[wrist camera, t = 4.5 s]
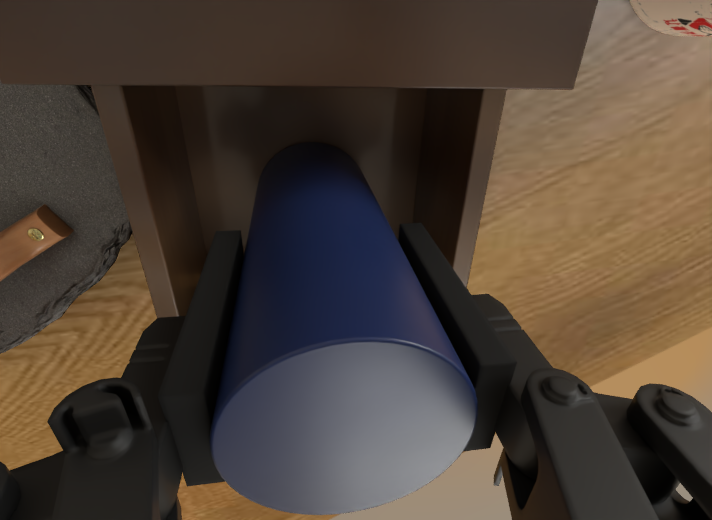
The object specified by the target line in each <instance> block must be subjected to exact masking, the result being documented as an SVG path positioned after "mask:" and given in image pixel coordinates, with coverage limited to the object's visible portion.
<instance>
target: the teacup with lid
mask: <svg viewBox="0 0 712 520" xmlns="http://www.w3.org/2000/svg"><path fill="white" fill-rule="evenodd" d="M629 1H630V3H631V5H632V7H633V9H634V11H635V12H636V14H637V15H638V17H639V18H640V19H641V20H642V21H643V22H644V23H645V24H646V25H648V26H649V27H650V28H652V29H654V30H656V31H658V32H660V33H663V34H668V35H673V36H710V37H712V0H629Z"/></svg>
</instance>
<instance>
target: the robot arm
mask: <svg viewBox="0 0 712 520" xmlns="http://www.w3.org/2000/svg"><path fill="white" fill-rule="evenodd" d="M398 242H399V244H400V246H401V248H402V250H403V252H404V254H405V255H406V257H407V259H408V261H409V263H410V265H411V267H412V269H413V271H414V273H415V275H416V277H417V279H418V280H419V282H420V284H421V286H422V288H423V290H424V292H425V294H426V296H427V298H428V300H429V302H430V304H431V305H432V307H433V309H434V311H435V313H436V315H437V317H438V319H439V321H440V323H441V325H442V327H443V329H444V330H445V332H446V334H447V336H448V338H449V340H450V342H451V344H452V346H453V348H454V350H455V352H456V353H457V355H458V357H459V359H460V361H461V363H462V365H463V367H464V369H465V371H466V373H467V375H468V377H469V378H470V380H471V383H472V385H473V387H474V389H475V393H476V397H477V409H478V416H477V421H476V426H475V429H474V432H473V435H472V437H471V439H470V441H469V443H468V444H467V446H466V448H465V449H464V451H470V450H478V449H486V448H490V447H491V444H492V440H493V437H494V434H495V432H496V434H497V436H498V438H499V439H500V441H501V443H502V445H503V447H504V448H503V451H502V454H501V457H500V460H499V462H498V465H497V468H496V471H495V474H494V485H497V486H499V484H500V481H501V478H502V475H503V478H504V483H505V488H506V492H507V497H508V502H509V507H510V511H511V516H512V520H712V412H711V411H710V410H709V409H707V408H706V407H705V406H704V405H703V404H701V403H700V402H699V401H697V400H696V399H695V398H693V397H692V396H690V395H688V394H686V393H684V392H682V391H680V390H678V389H675V388H672V387H669V386H666V385H662V384H647V385H644V386H641V387H640V388H639V390H638V391H637V393H636V395H635V396H634V398H633V399H628V398H622V397H615V396H610V395H604V394H598V393H594V392H592V390H591V389H590V388H589V386H588V385H587V384H586V383H584V382H583V381H582V380H580V379H579V378H578V377H576V376H574V375H572V374H570V373H568V372H566V371H564V370H559V369H555V368H553V367H552V366H551V365H550V363H549V362H548V361H547V360H546V358H545V357H544V356H543V354H542V353H541V352H540V351H539V349H538V348H537V347H536V346H535V344H534V343H533V342H532V340H531V339H530V338H529V337H528V335H527V334H526V333H525V331H524V330H521V326H520V325H519V324H518V322H517V321H516V320H515V319H513V316H512V315H511V314H510V312H509V311H508V310H507V308H506V307H505V306H504V305H503V304H502V303H501V302H499V301H498V300H496V299H495V298H493V297H492V296H490V295H489V294H479V295H471V294H470V293H469V291H468V290H467V288H466V287H465V285H464V284H463V282H462V281H461V280H460V278H459V277H458V275H457V274H456V272H455V271H454V269H453V268H452V266H451V265H450V264H449V262H448V261H447V259H446V258H445V256H444V255H443V253H442V252H441V251H440V249H439V248H438V246H437V245H436V243H435V242H434V240H433V239H432V237H431V236H430V235H429V233H428V232H427V230H426V229H425V227H424V226H423V224H422V223H407V224H400V228H399V239H398ZM243 259H244V251H243V244H242V236H241V230H232V231H216V233H215V235H214V238H213V241H212V244H211V247H210V249H209V252H208V255H207V258H206V261H205V264H204V266H203V269H202V272H201V275H200V278H199V281H198V283H197V286H196V289H195V292H194V295H193V297H192V300H191V303H190V306H189V309H188V312H187V314H186V316H174V317H160V318H157V319H156V320H155V321H154V322H153V323H152V324H151V325H150V326H149V327H148V328H147V329H145V330H144V331H143V333H142V335H141V337H140V339H139V341H138V344H137V346H136V350H134V352H133V354H132V356H131V358H130V360H129V361H130V363H129V364H128V365H127V367H126V369H125V371H124V373H123V375H122V377H121V378H109V379H101V380H98V381H95V382H92V383H90V384H87V385H84V386H82V387H81V388H79V389H77V390H76V391H74V392H72V393H71V394H69V395H68V396H66V397H65V398H64V399H63V400H62V401H61V402H60V403H59V404H58V405H57V406H56V407H55V408H54V410H53V412H52V414H51V416H50V418H49V419H48V421H47V422H48V424H49V425H50V427H51V429H52V431H53V433H54V434H55V436H56V438H57V440H58V442H59V443H60V445H61V447H62V449H63V451H61V452H59V453H56V454H54V455H52V456H49V457H46V458H44V459H41V460H38V461H35V462H32V463H30V464H27V465H24V466H21V467H18V468H16V469H13V470H10V471H9V470H8V468H7V467H6V465H5V464H3V463H1V462H0V520H182V516H181V506H180V503H179V500H178V497H177V493H178V488H179V484H180V480H181V476H182V472H183V475H184V478H185V481H186V484H187V486H193V485H201V484H209V483H217V482H225V480H224V479H223V478H222V477H221V475H220V473H219V472H218V470H217V469H216V467H215V464H214V461H213V458H212V456H211V450H210V430H211V425H212V420H213V414H214V409H215V404H216V399H217V394H218V388H219V383H220V378H221V373H222V368H223V363H224V357H225V352H226V347H227V342H228V337H229V331H230V326H231V321H232V316H233V311H234V305H235V300H236V295H237V290H238V285H239V279H240V274H241V269H242V264H243ZM679 483H681V484H682V485H683V486H684V488H685V489H686V490H687V491H688V492H689V494H690V495H691V496H692V497H693V499H692V500H691V501H690V502H689V501H687V500H686V499H684V498H683V497H682V496H681V495H680V494H679V493H678V492H677V491H676V490H675V489H676V488H677V486H678V485H679Z"/></svg>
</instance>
